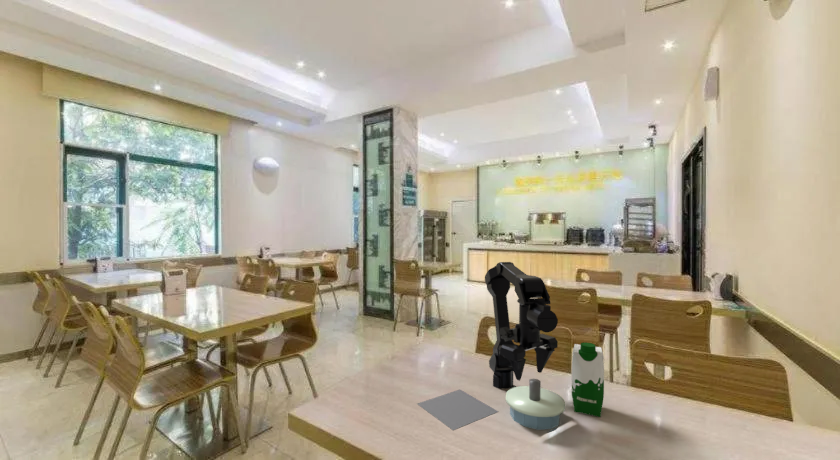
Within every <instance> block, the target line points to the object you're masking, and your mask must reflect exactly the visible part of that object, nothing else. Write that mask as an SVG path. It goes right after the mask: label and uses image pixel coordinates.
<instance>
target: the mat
mask: <svg viewBox="0 0 840 460" xmlns="http://www.w3.org/2000/svg"><path fill="white" fill-rule="evenodd" d="M416 404H417V405H418V406H419V407H421V409H423V410H424V411H426V412H427V413H428V414H430V415H431V416H432V417H434V418H436V419H437V420H438V421H439V422H441V423H442V424H444V425H445V426H446V427H448V428H449V429H450V430H452V431H456V430H458V429H460V428H463V427H466V426H467V425H470V424H472V423H475V422H477V421H479V420H482V419H484V418H486V417H489V416H492V415H494V414H497V413H499V411H498V410H497V409H495V408H493V407H492V406H490V405H489V404H486V403H485V402H483V401H481V400H479V399H478V398H476V397H474V396H473V395H470V394H469V393H467V392H465V390H462V389H457V390H454V391H451V392H448V393H445V394H441V395H439V396H436V397H433V398H429V399H426V400H424V401H420V402H418V403H416Z"/></svg>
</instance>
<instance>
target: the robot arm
mask: <svg viewBox="0 0 840 460" xmlns="http://www.w3.org/2000/svg"><path fill="white" fill-rule="evenodd" d="M484 283H485V285H486V289H487V291H488V293H489V295H490V296H491V297H492V303H493V311H494V312H493V313H494V315H493V316H494V324H495V333H496V341H495V344H494V346H493V348H492V355H491V357H490V358H489V360H488V364H489V365H488V366H489V369H490V370H491V371H492V372H493V374H492V375H493V376H492V377H493V378H492V387H494V388H496V389H498V390H501V389H504V390H505V389H506V390H507V389H512V388H514V387H518V386H517V385H514V378H515V380H517V381H519V382H520V381H521V380H522V376H523V373H524V368H525V364H526V361H527V359H526V358H525V356H526V352H527V351H531V350H534V351H535V360H536V361H535V362H536V371H537V373H540V374H541V373H542V372H543V370H544V368H545V366H546V364H547V363H548V361H549V360H550V358H551V356H552V354H553V352H555V350H556V349H557V348H558V347H559V346H558V340H557V339H556V337H555V336H551V335H548V334H545V333H550V332H553V331H554V330H555V329H556V327H557V326H558V324H559V323H558V322H559V319H558V316H557V314H556V312H554V311H552V309H551V296H550V293H549V292H548V289H547V286H546V284H545V282H544V281H543V278H541V277H539V276H537V275H536V276H535V275H530V274H527V273H525V272H524V271H523V270H521V269H520V268H518V267H517V266H516V265H515V264H514V263H513V262H511V261H500V262H497V264H495V266H493V267H491V268H489V269H488V270H487V272H486V273H485V275H484ZM511 284H512V285H513V286H514V293H515V294H516V296H517V297H518V299H517V300H516V302H517V303H518V304H519V305H518V306H519V309H518V311H519V312H518V316H519V317H518V318H519V319H518V321H519V322H518V323H516V324H515V326H514V327H512V328H511V325H510V324H511V323H510V317H509V315H510V314H509V306H508V297H507V295H508V293H509V291H510V289H511ZM541 332H543V333H541ZM514 376H515V377H514Z"/></svg>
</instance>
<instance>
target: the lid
mask: <svg viewBox="0 0 840 460" xmlns="http://www.w3.org/2000/svg"><path fill="white" fill-rule="evenodd" d="M528 381H529V382H528V383H529V384H528V385H521V386H520V385H519V386H517V387H514V388H512V389H511V388H509V389H508V390H507V391H506V392H505V402H506V404H507V405H508V406H509V408H510V407H511V408H513V409H514V410H516V411H518V412H520V413H523V414H526V415H530V416H535V417H553V416H557V415H560V416H561V414H563V413H564V412H565V410H566V401H565V399H564V398H563V397H562V396H561V395H560V394H558V393H557V392H555V391H553V390H550V389H547V388H543V387H542V385H541V380H539V379H538V378H530V379H528Z"/></svg>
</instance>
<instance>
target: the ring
mask: <svg viewBox="0 0 840 460" xmlns="http://www.w3.org/2000/svg"><path fill="white" fill-rule="evenodd" d="M509 415H510V416H511V419H513V421H514V422H515V423H518V424H519V425H520V426H523V427H526V428H529V429H533V430H537V431H539V430H549V431H548V432H547V433H551V432H554V431H556V430H558V428H559V425H560V417H561V414H560V415H557V416H553V417H535V416H530V415H526V414H523V413H520V412H518V411H516V410H514V409H513V408H511V407H510V406H509ZM555 427H556V428H555Z"/></svg>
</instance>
